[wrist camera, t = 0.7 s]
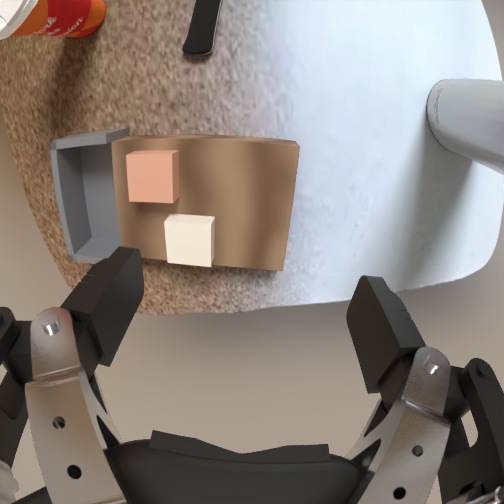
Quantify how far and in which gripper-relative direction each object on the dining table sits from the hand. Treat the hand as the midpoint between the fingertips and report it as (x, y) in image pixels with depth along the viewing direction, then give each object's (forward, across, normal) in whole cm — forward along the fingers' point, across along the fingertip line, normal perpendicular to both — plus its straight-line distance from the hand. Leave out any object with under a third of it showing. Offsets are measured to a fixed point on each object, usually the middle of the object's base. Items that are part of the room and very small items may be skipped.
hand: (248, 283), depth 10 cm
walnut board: (+21, +5, +4) cm, 22 cm away
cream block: (+17, +6, +7) cm, 19 cm away
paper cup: (+21, +22, -18) cm, 36 cm away
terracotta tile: (+17, +9, +1) cm, 19 cm away
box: (+21, +18, +4) cm, 28 cm away
